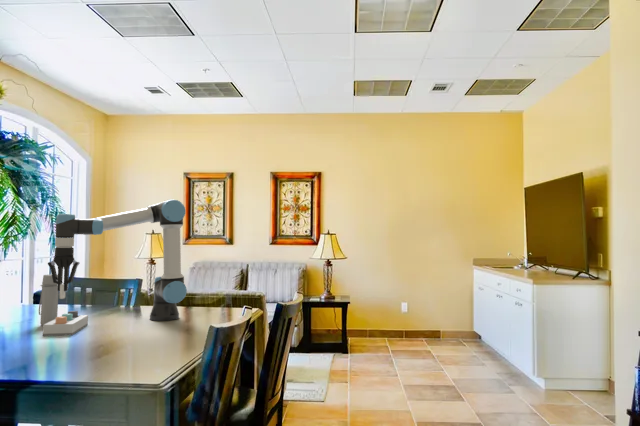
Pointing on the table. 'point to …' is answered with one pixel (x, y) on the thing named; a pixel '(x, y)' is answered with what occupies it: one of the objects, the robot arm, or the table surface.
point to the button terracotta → (61, 320)
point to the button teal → (68, 316)
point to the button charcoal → (74, 313)
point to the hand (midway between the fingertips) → (62, 298)
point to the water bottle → (48, 300)
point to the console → (65, 326)
